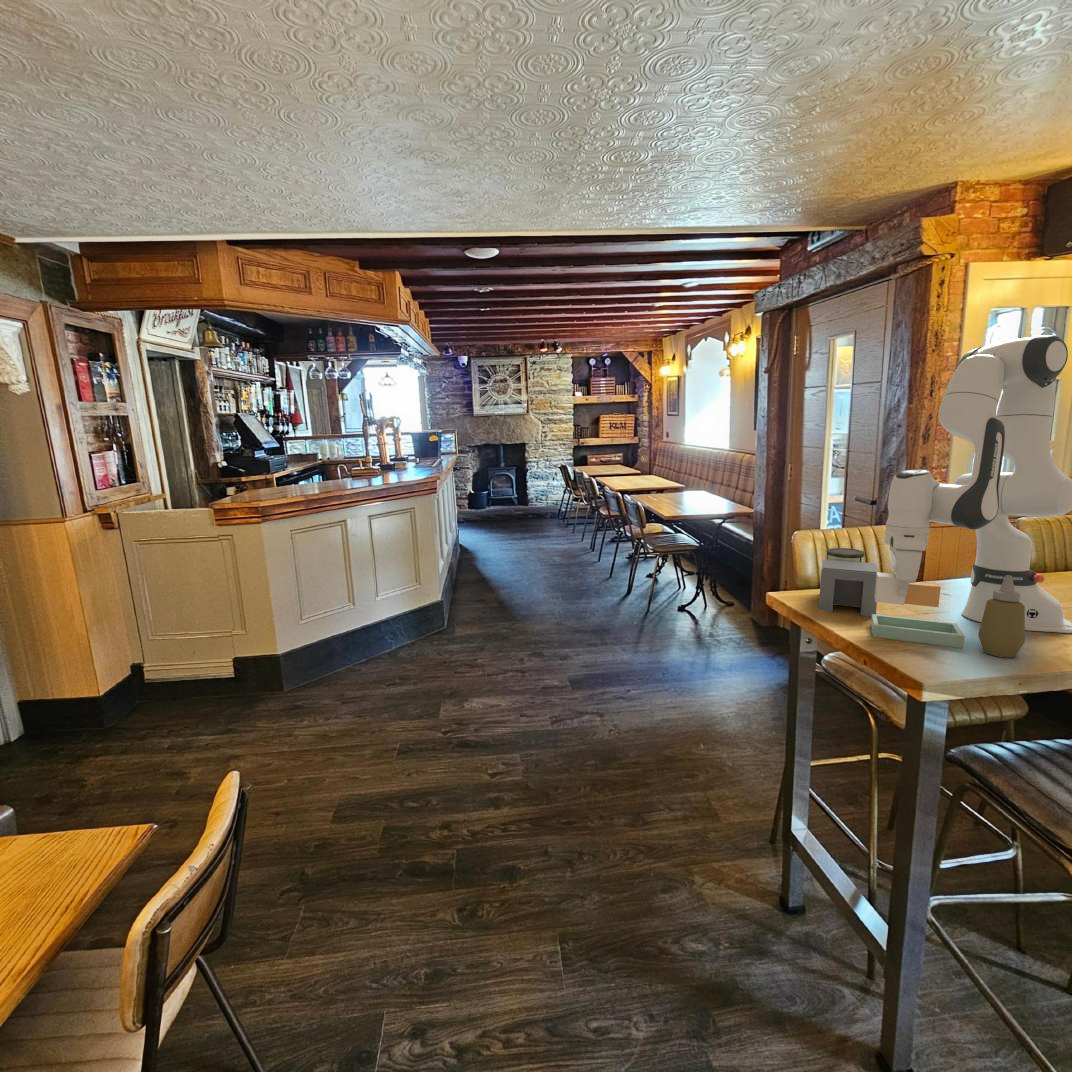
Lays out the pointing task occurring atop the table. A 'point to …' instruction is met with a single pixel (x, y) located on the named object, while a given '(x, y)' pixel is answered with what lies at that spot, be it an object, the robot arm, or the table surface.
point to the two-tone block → (915, 592)
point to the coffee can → (845, 554)
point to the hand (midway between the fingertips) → (900, 592)
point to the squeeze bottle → (1003, 622)
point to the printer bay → (848, 585)
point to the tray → (917, 630)
